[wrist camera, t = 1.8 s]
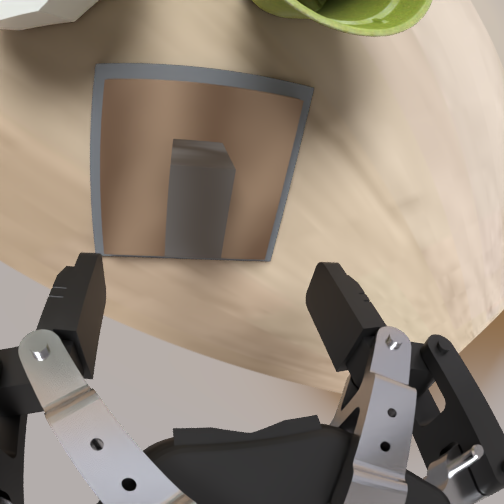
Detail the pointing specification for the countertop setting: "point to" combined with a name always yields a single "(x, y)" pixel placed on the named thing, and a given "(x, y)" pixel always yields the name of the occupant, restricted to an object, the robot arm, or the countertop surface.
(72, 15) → the bowl
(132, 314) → the countertop surface
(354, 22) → the plant pot
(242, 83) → the mat
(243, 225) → the lid
